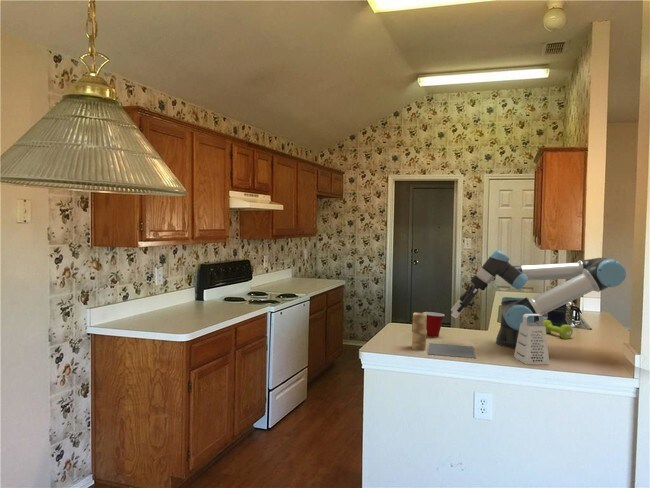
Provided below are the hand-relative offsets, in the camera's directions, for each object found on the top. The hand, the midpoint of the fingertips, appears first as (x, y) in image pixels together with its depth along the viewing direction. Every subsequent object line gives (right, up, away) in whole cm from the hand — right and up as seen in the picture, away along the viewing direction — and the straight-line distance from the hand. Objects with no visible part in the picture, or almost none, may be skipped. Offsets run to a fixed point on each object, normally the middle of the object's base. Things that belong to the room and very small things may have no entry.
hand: (453, 314), depth 233 cm
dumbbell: (+61, -16, +27) cm, 69 cm away
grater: (+28, -17, -21) cm, 39 cm away
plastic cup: (-5, -14, +21) cm, 26 cm away
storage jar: (+70, -15, +44) cm, 84 cm away
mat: (-3, -16, -7) cm, 18 cm away
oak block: (-17, -15, -4) cm, 23 cm away
